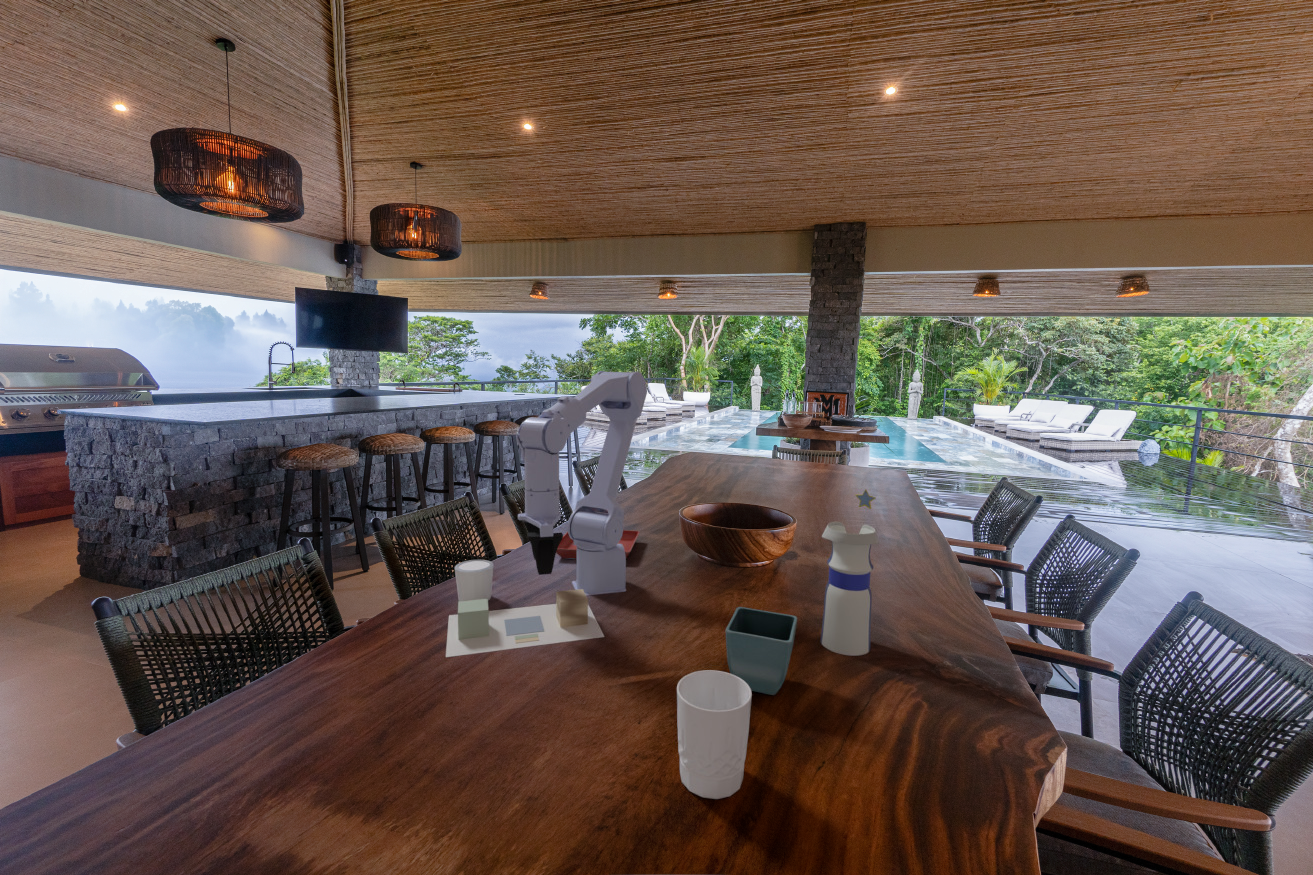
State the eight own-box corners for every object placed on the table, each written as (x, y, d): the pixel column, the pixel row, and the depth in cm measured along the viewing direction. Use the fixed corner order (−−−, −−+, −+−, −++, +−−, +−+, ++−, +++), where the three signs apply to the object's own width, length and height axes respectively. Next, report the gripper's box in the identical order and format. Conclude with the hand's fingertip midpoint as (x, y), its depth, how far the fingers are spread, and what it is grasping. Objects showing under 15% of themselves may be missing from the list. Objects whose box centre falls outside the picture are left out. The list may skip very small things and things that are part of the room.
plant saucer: (571, 538, 147) (571, 526, 147) (640, 542, 145) (640, 529, 145) (551, 562, 129) (551, 547, 129) (629, 566, 128) (630, 552, 127)
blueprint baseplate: (586, 603, 106) (586, 600, 106) (604, 640, 92) (604, 636, 91) (448, 618, 98) (448, 614, 98) (445, 660, 84) (445, 656, 84)
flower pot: (794, 674, 82) (798, 614, 81) (788, 707, 74) (791, 642, 73) (735, 662, 85) (737, 605, 84) (722, 693, 77) (724, 630, 76)
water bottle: (817, 628, 98) (826, 484, 95) (871, 636, 95) (881, 489, 92) (814, 649, 90) (823, 494, 87) (872, 659, 87) (883, 499, 84)
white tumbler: (499, 595, 109) (499, 559, 108) (485, 610, 102) (484, 572, 101) (465, 593, 109) (464, 558, 109) (448, 607, 103) (447, 570, 102)
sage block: (487, 623, 95) (487, 598, 95) (488, 635, 91) (488, 609, 90) (458, 627, 94) (458, 601, 93) (458, 639, 89) (457, 612, 89)
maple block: (582, 612, 100) (582, 588, 100) (587, 624, 96) (587, 599, 95) (556, 615, 99) (556, 591, 98) (560, 627, 94) (560, 601, 94)
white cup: (670, 753, 65) (672, 670, 64) (738, 750, 65) (742, 668, 64) (679, 805, 57) (681, 712, 56) (756, 802, 58) (760, 710, 57)
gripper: (515, 481, 102) (516, 554, 103) (520, 498, 88) (521, 583, 90) (555, 479, 104) (555, 551, 106) (566, 496, 90) (566, 579, 92)
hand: (542, 565), depth 98 cm, fingers open, 7 cm apart
